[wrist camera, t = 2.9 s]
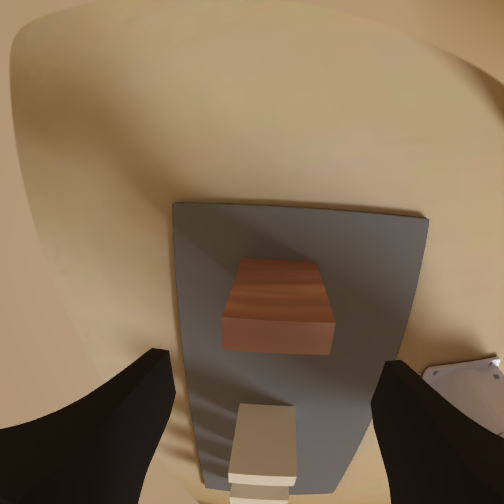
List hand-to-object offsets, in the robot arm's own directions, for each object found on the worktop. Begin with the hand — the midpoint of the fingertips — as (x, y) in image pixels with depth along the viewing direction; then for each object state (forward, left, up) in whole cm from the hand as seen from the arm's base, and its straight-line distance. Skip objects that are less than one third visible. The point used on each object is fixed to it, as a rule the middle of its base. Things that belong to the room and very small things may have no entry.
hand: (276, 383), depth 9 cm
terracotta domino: (0, 0, -10) cm, 10 cm away
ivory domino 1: (0, +13, -10) cm, 16 cm away
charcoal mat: (-2, +13, -10) cm, 17 cm away
